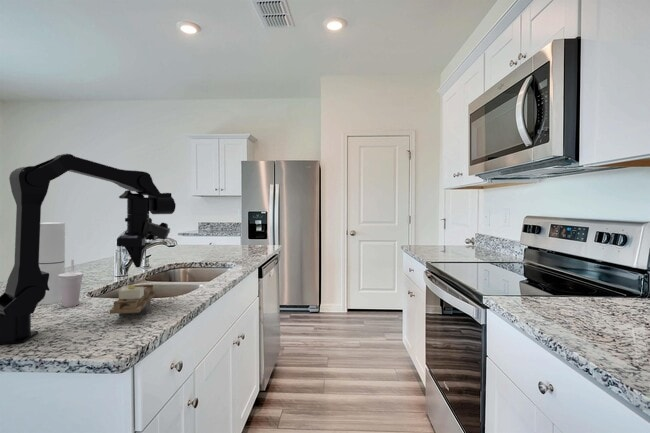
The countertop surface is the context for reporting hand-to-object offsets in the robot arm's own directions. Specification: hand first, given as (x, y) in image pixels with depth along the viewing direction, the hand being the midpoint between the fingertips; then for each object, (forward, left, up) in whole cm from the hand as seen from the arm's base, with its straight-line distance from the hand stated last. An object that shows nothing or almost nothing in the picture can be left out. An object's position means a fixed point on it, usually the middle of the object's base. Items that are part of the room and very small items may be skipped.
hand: (138, 267), depth 102 cm
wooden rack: (-3, 0, -13) cm, 13 cm away
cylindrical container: (+15, +29, -13) cm, 35 cm away
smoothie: (+9, +21, -13) cm, 26 cm away
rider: (-7, 0, -9) cm, 11 cm away
